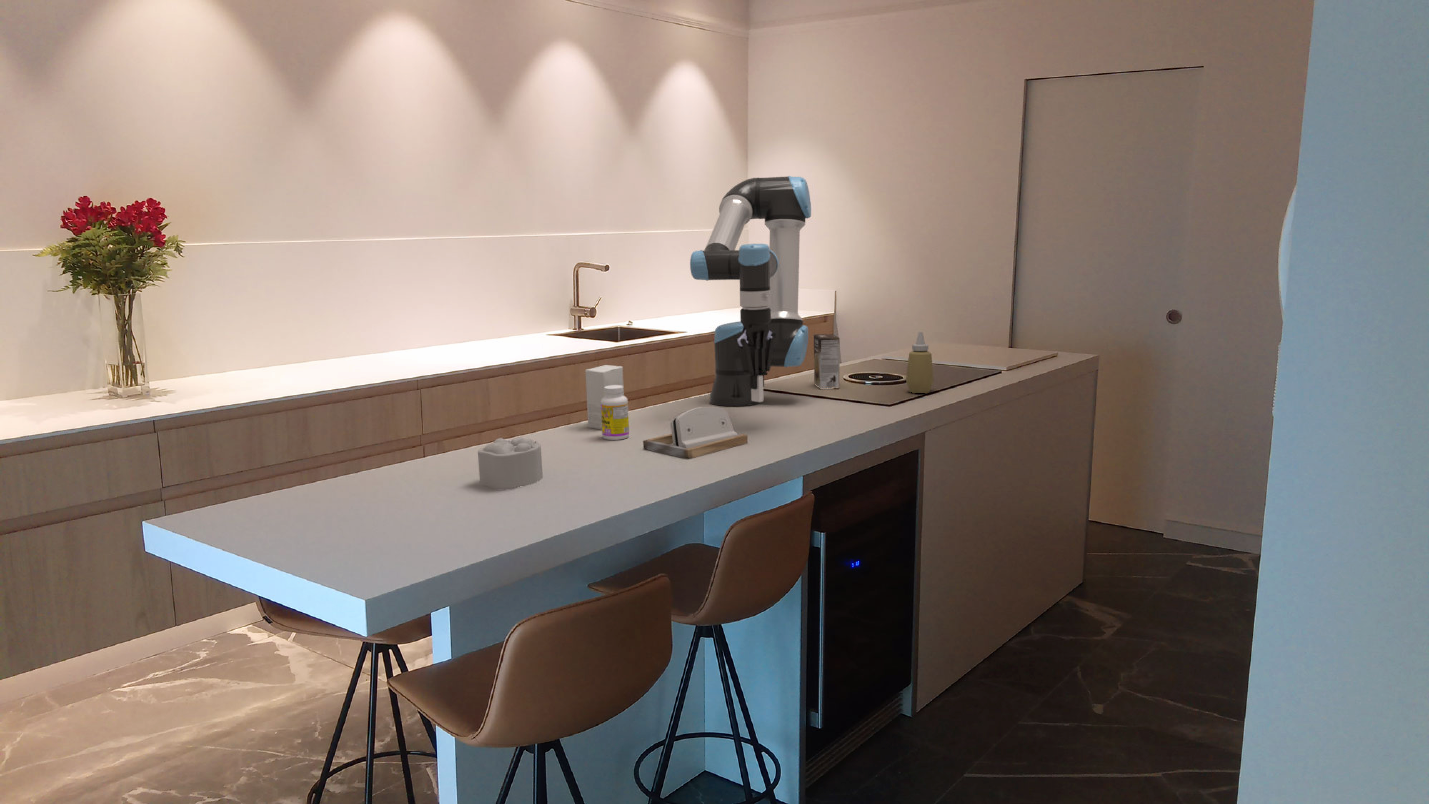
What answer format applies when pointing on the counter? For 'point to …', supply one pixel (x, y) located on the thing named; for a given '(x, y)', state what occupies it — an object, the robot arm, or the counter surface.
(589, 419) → the skincare box
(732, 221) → the robot arm
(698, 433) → the grey piece
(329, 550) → the counter surface
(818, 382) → the coffee box
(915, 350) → the squeeze bottle
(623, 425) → the supplement bottle
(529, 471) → the lumpy-topped squat cylinder
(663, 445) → the frame
